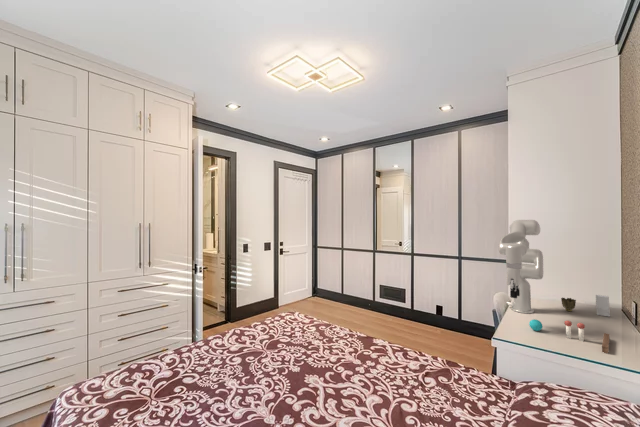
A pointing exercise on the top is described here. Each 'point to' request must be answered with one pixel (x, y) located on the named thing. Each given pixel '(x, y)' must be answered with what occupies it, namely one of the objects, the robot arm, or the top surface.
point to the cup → (568, 304)
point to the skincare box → (602, 305)
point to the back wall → (605, 343)
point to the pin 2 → (581, 331)
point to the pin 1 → (568, 329)
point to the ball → (535, 325)
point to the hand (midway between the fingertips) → (515, 296)
